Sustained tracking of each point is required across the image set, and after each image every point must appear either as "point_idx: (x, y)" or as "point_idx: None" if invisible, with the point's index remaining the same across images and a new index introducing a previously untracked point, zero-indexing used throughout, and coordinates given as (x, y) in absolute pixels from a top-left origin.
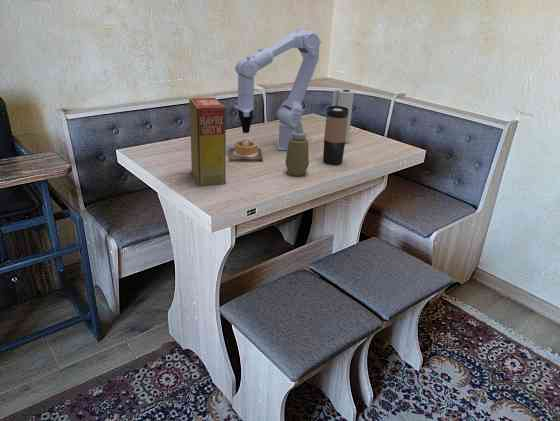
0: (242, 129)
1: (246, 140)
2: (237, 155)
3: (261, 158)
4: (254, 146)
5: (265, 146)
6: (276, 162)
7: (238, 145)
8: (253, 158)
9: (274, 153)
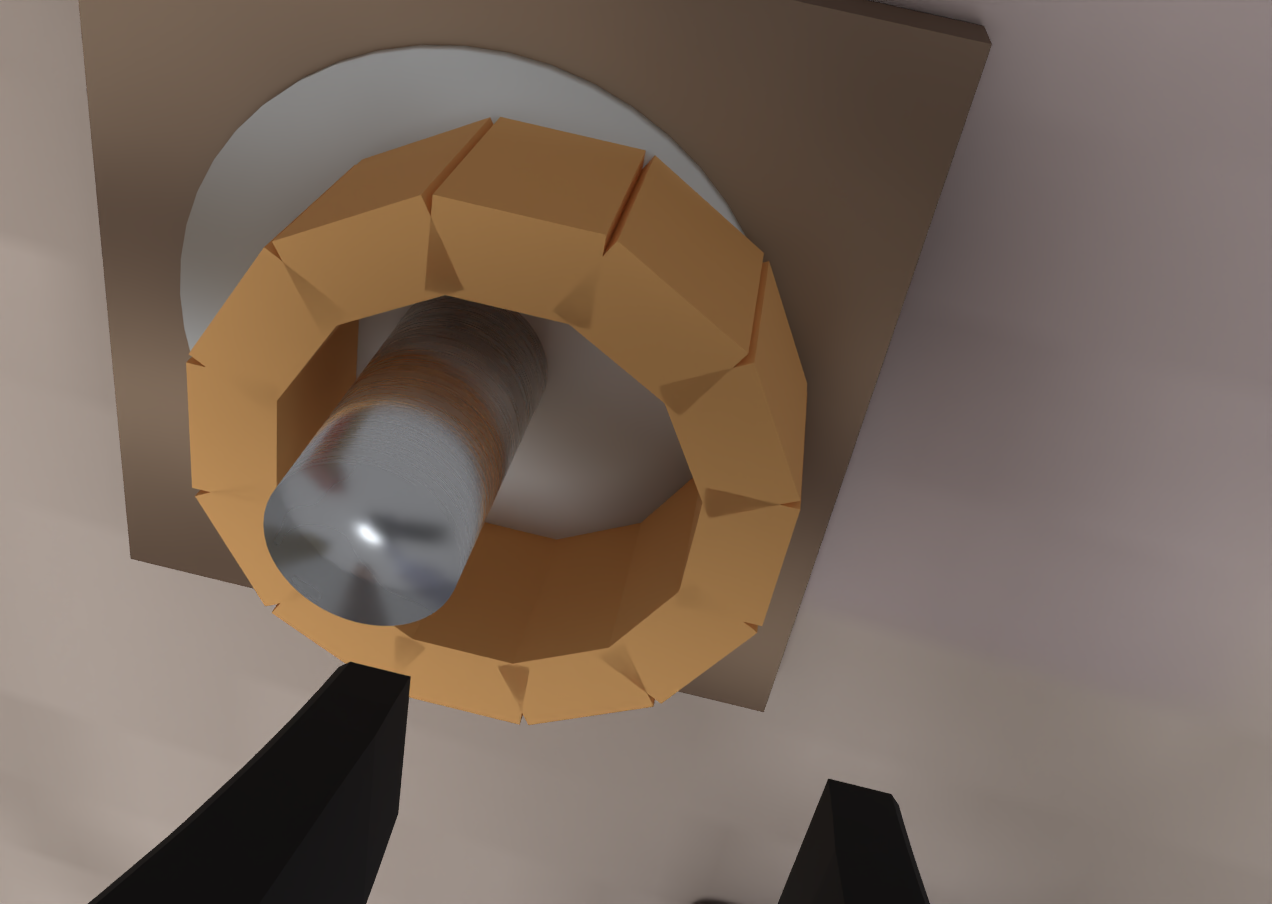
0: (274, 743)
1: (363, 566)
2: (269, 116)
3: (160, 548)
4: (279, 616)
5: (993, 814)
6: (143, 697)
7: (366, 271)
8: (145, 415)
9: (574, 808)
